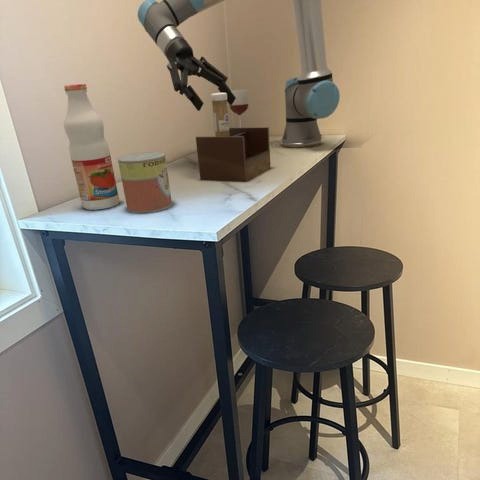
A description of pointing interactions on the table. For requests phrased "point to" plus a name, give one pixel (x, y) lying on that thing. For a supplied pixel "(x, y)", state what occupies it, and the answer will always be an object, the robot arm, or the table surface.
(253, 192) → the table surface
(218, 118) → the sprinkles bottle
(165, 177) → the canned food
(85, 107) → the fruit juice
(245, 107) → the wineglass
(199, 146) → the box
